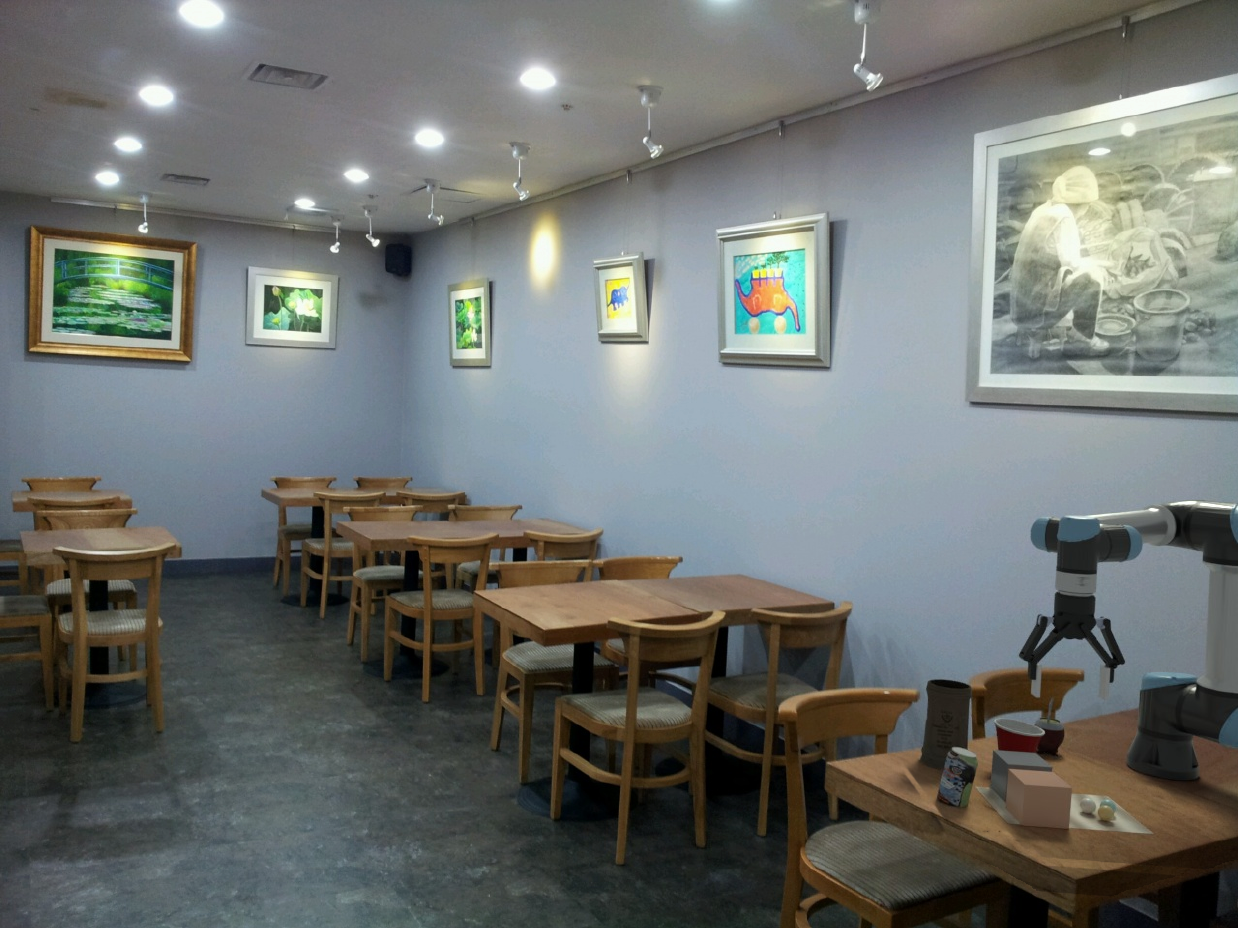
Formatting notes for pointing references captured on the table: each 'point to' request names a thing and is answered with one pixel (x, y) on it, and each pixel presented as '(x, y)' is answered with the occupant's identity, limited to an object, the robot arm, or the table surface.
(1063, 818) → the salmon pink cube
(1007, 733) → the plastic cup
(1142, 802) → the table surface
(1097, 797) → the cream cloth mat
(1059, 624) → the robot arm
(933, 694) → the beer stein
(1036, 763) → the gray cube
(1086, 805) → the marble cream
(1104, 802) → the marble teal
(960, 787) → the beverage can
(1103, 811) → the marble amber
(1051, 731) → the mate gourd
